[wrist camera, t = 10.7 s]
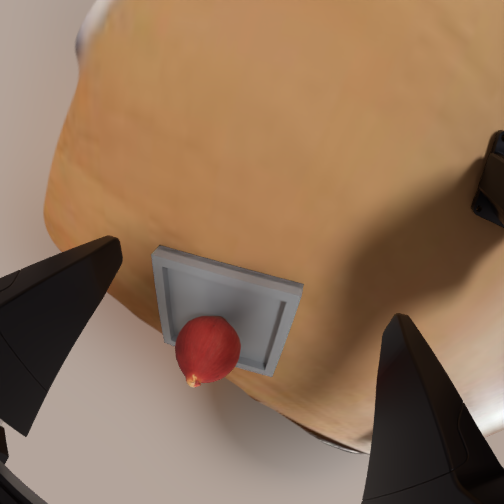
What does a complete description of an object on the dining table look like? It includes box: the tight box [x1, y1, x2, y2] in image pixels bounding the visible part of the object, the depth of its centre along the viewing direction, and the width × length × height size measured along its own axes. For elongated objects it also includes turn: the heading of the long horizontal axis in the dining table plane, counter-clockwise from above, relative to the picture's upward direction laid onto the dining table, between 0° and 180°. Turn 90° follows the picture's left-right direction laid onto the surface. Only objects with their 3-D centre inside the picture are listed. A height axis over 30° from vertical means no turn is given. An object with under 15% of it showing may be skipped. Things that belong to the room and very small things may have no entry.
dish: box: [151, 245, 304, 377], centre depth 27 cm, size 13×13×2 cm
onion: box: [175, 316, 241, 387], centre depth 24 cm, size 6×6×8 cm
